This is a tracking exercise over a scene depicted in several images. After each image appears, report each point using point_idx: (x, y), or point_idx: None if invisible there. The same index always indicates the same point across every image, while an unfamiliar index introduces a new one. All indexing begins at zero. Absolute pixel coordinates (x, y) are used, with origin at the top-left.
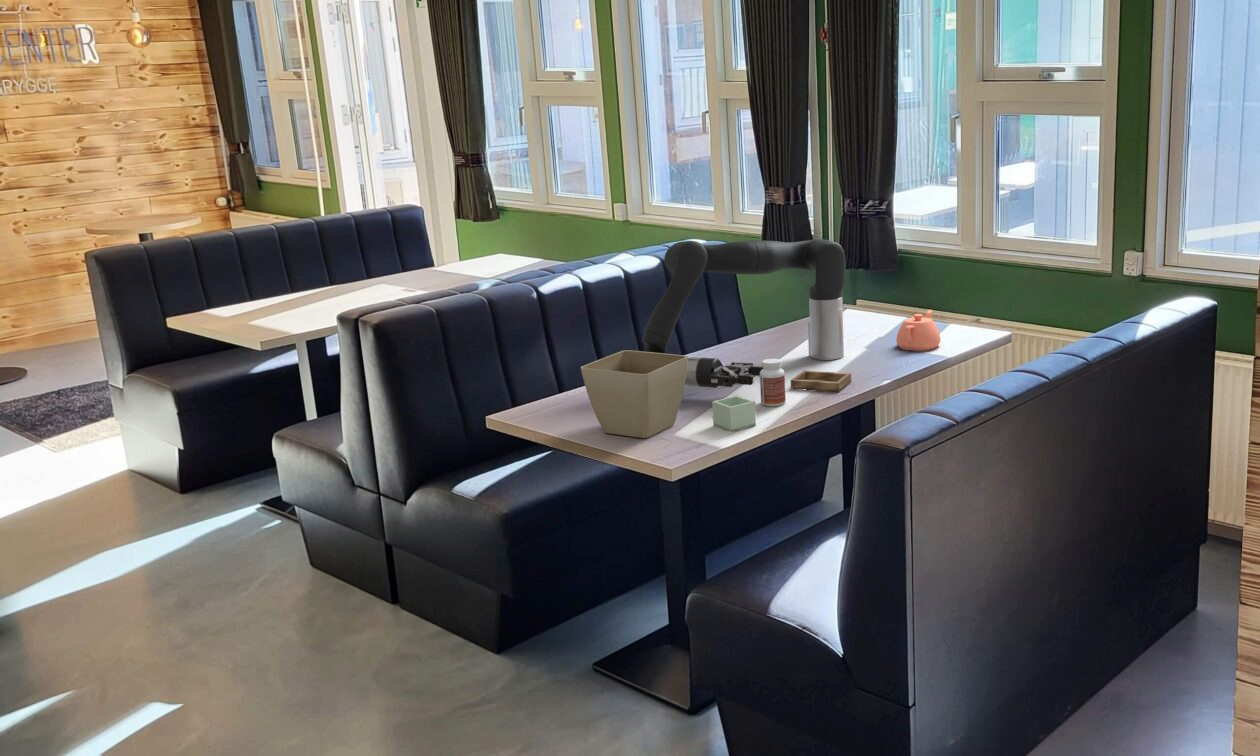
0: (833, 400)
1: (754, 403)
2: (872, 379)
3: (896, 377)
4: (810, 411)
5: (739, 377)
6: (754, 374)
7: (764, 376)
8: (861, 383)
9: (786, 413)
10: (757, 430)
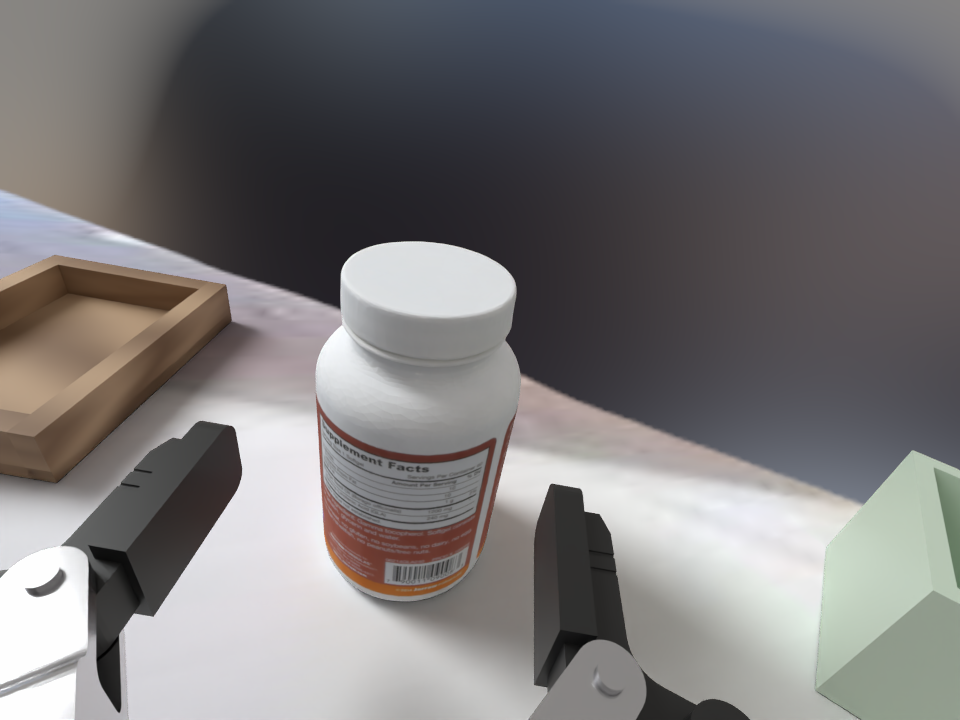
0: None
1: (907, 461)
2: (59, 254)
3: (73, 221)
4: None
5: (597, 625)
6: (170, 578)
7: (514, 407)
8: None
9: (569, 452)
10: None
